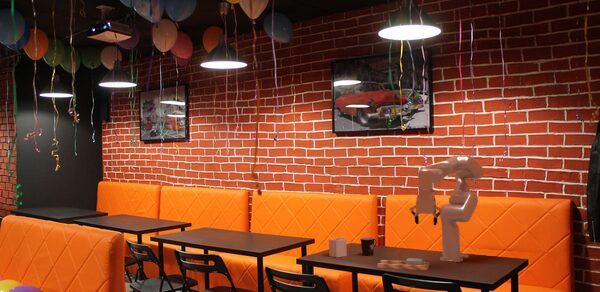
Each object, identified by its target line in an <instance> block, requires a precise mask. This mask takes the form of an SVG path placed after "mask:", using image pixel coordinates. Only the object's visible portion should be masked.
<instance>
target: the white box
mask: <svg viewBox="0 0 600 292" xmlns="http://www.w3.org/2000/svg"><path fill="white" fill-rule="evenodd" d="M328 251H329V252H328V255H329V257H331V258H344V257H347V255H348V253H347V251H348V250H347V238H345V237H331V238H329V239H328Z"/></svg>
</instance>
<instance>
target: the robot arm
mask: <svg viewBox="0 0 600 292" xmlns="http://www.w3.org/2000/svg"><path fill="white" fill-rule="evenodd" d="M484 172H485V171H484V168H483V166H482V165H481V163H480V162H478V161H477V160H476V159H475V158H474V157H473V156H471V155H466V154H465V155H462V154H461V155H453V156H451V157H449V158H447V159H445V160H444V161H443V160H442V161H439V162H436V163H431V164H428V165H426V166H424V167H422V168H421V169H419V170H418V172H417V178H418V179H417V181H418V186H417V187H418V188H417V189H418V194H417V196H416V200H415V205H413V206H412V207H410V208H409V211H410V213H411V215H413V217H414V223H415V225H418V224H419V223H420V221H419V219H420V217H419V215H420V214H425V215H432V216H433V225H434V226H437V224H438V217H440V222H441V238H442V239H441V240H442V241H441V242H442V243H441V244H442V256H440V257H439V260H440V261H444V262H456V263H462V262H463V261H464V258H465V259H468V258H469V254H467V253H462V252H461V248H460V246H461V245H460V244H461V241H460V240H461V239H460V238H461V237H460V227H459V225H458V223H467V222H469V221H470V220H471V218H472V216H473V214H474V212H475V211H476V209H477V206H478V202H479V198H478V195H477V193H476V192H473V191H471V186H470V185H469V183H468V181H467V180H479V179H482V178H483V176H484ZM453 174H454V179H455V186H454V189H453V190H452V192H451V193H450V196H449V198H448V203H447V204H443V205H441V207H440V206H437V202H436V201H437V200H436V196H435V194H436V192H437V191H436V190H434V187H433V185H434V184H433V183H435V184H437V183H441V182H443V181H444V179H445V177H447V176H450V175H453ZM414 210H415V211H414ZM437 211H438V212H437Z"/></svg>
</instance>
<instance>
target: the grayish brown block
mask: <svg viewBox="0 0 600 292" xmlns="http://www.w3.org/2000/svg"><path fill="white" fill-rule="evenodd" d="M405 261H406V265H423V262H424V259H423V258H416V257H415V258H414V257H413V258H411V257H407V259H406V260H405Z"/></svg>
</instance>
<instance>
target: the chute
mask: <svg viewBox="0 0 600 292" xmlns="http://www.w3.org/2000/svg"><path fill="white" fill-rule="evenodd" d="M376 264H377V269H378V268H379V269H380V268H381V269H394V270H395V269H396V270H397V269H398V270H414V271H417V270H418V271H428V270H429V267H430V262H429V261H423V265H406V260H393V259H392V260H389V259H388V260H387V259H381V260H380V263H376Z"/></svg>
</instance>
